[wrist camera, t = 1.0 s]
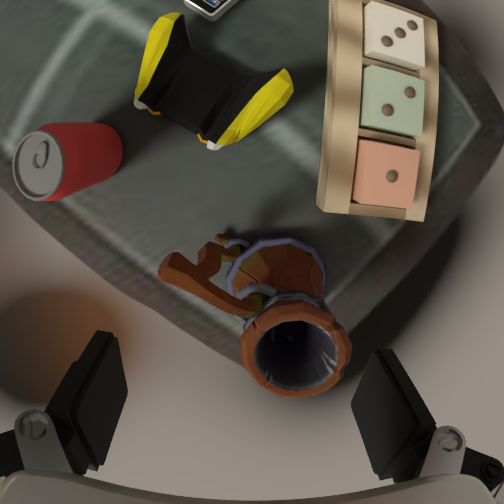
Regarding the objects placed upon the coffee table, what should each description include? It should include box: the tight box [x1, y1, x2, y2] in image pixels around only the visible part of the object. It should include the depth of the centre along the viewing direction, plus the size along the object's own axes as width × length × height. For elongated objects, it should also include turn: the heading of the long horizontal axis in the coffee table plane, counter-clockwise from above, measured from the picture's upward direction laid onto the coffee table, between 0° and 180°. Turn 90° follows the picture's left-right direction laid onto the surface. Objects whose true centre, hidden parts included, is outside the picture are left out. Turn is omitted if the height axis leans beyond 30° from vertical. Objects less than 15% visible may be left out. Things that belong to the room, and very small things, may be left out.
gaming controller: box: [134, 13, 294, 150], centre depth 25 cm, size 15×6×10 cm
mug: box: [158, 233, 352, 397], centre depth 28 cm, size 18×12×15 cm, turn 49°
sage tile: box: [359, 65, 425, 137], centre depth 25 cm, size 6×6×3 cm
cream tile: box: [363, 1, 425, 71], centre depth 22 cm, size 6×6×3 cm
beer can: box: [13, 123, 123, 201], centre depth 24 cm, size 7×7×12 cm
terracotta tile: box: [351, 140, 420, 209], centre depth 28 cm, size 6×6×3 cm
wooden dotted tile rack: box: [316, 0, 439, 222], centre depth 27 cm, size 24×12×3 cm, turn 176°
